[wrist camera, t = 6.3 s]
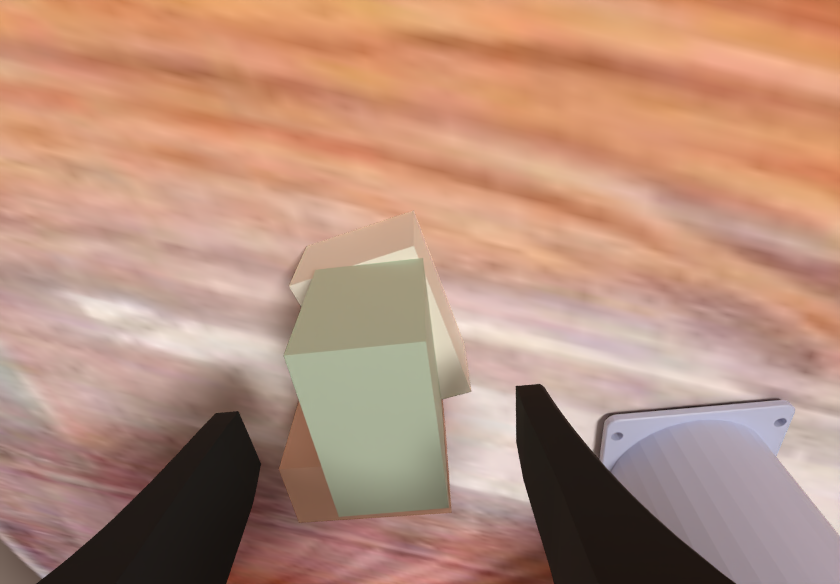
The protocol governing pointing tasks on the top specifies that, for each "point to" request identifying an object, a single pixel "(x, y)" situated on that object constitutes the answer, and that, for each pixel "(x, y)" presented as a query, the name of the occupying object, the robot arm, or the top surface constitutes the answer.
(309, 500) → the terracotta brick
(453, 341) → the cream brick
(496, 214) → the top surface
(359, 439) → the green brick
